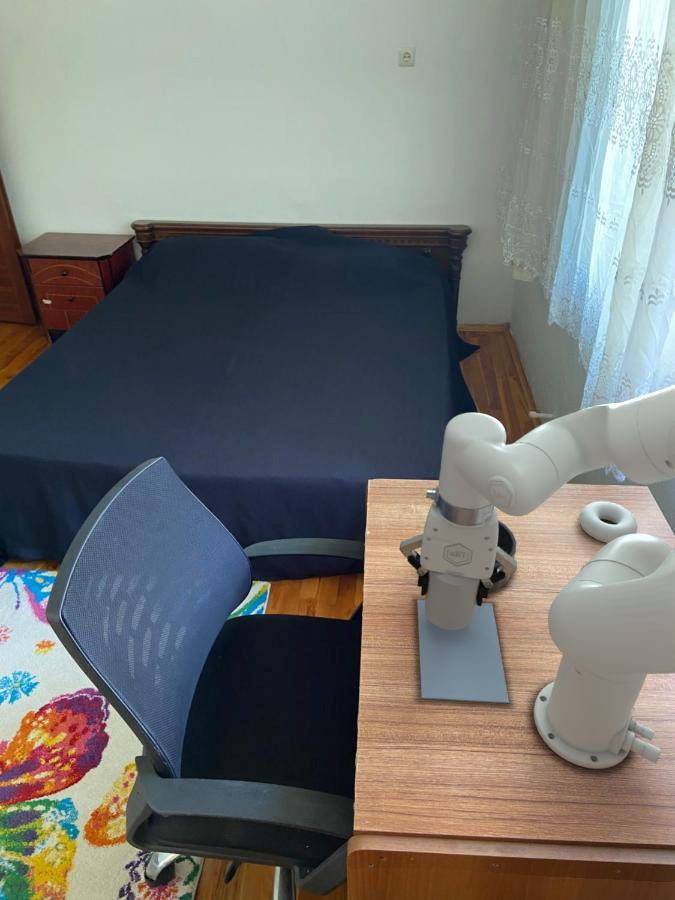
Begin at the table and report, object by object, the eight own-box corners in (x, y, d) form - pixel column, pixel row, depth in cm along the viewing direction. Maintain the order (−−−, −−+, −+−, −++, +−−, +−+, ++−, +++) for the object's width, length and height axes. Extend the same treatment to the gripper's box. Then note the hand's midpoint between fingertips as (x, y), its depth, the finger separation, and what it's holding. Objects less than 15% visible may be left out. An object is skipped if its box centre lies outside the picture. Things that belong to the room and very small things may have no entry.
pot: (522, 556, 113) (528, 531, 109) (491, 607, 103) (496, 580, 100) (451, 527, 119) (454, 502, 116) (415, 572, 110) (418, 546, 106)
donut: (641, 549, 114) (626, 512, 122) (646, 535, 112) (631, 498, 120) (583, 546, 115) (572, 509, 123) (588, 531, 113) (576, 495, 121)
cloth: (417, 600, 104) (417, 599, 104) (491, 604, 104) (492, 603, 103) (421, 698, 90) (421, 697, 89) (508, 703, 89) (509, 702, 89)
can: (468, 595, 101) (477, 538, 94) (478, 633, 95) (489, 576, 88) (420, 596, 101) (426, 539, 94) (427, 634, 95) (434, 577, 88)
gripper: (395, 509, 84) (389, 601, 94) (533, 531, 80) (511, 624, 90) (404, 475, 90) (397, 566, 100) (532, 494, 86) (512, 586, 96)
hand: (451, 593), depth 95 cm, fingers closed on can, 7 cm apart
